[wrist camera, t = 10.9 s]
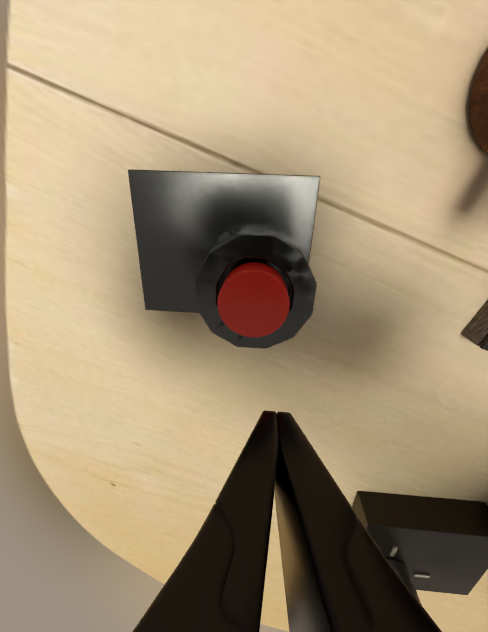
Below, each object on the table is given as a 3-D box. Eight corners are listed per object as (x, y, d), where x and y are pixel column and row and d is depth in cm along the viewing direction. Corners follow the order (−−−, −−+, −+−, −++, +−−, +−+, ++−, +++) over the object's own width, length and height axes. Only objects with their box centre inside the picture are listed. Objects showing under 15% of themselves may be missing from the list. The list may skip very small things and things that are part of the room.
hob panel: (485, 502, 26) (512, 540, 23) (445, 565, 31) (463, 603, 28) (344, 489, 27) (353, 525, 24) (325, 553, 31) (331, 589, 28)
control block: (317, 178, 16) (333, 173, 12) (298, 322, 20) (306, 351, 16) (144, 172, 16) (109, 166, 13) (159, 313, 20) (135, 340, 16)
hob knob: (413, 561, 25) (444, 637, 21) (400, 584, 27) (426, 659, 23) (365, 556, 26) (386, 630, 21) (356, 580, 28) (373, 653, 23)
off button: (290, 263, 14) (293, 272, 13) (284, 325, 16) (286, 340, 14) (222, 260, 14) (217, 268, 13) (222, 321, 16) (217, 335, 14)
